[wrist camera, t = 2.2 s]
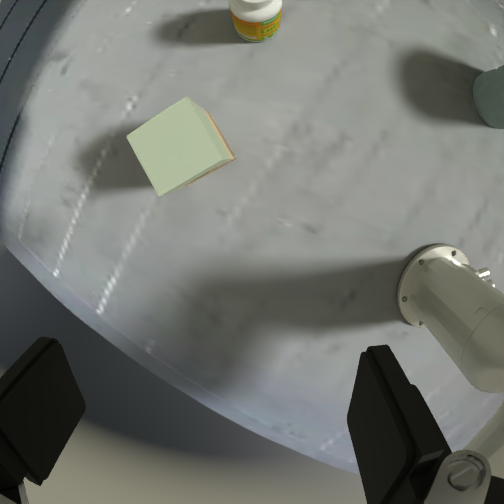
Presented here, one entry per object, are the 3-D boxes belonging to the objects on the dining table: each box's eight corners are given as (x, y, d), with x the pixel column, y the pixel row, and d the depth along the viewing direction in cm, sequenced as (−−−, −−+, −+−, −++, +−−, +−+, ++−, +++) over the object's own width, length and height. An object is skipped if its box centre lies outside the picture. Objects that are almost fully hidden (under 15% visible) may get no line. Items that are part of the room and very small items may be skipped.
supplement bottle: (264, 50, 31) (264, 17, 21) (225, 31, 30) (213, -4, 21) (287, 19, 29) (294, -19, 20) (249, 1, 28) (244, -39, 19)
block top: (201, 107, 28) (186, 96, 22) (230, 159, 29) (222, 159, 23) (150, 138, 29) (126, 136, 23) (178, 188, 30) (159, 196, 24)
